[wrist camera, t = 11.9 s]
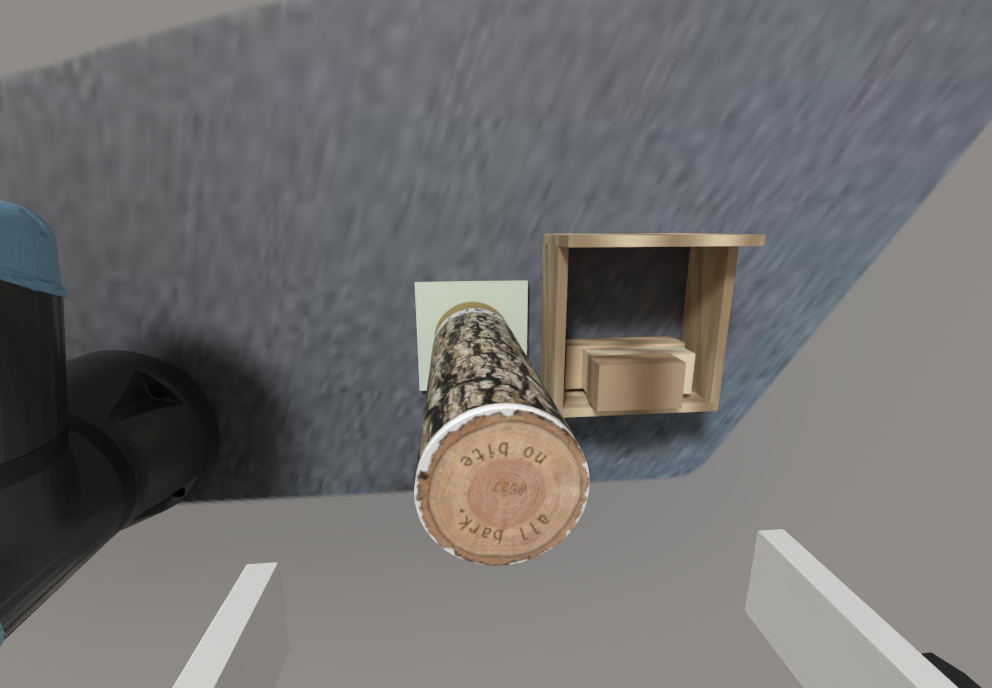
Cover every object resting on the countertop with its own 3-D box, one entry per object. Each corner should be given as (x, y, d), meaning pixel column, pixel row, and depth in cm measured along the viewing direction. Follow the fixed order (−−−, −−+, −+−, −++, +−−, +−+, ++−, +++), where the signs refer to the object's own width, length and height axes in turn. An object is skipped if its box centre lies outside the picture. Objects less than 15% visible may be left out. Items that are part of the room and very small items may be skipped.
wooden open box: (539, 393, 44) (561, 433, 36) (543, 233, 40) (568, 235, 32) (683, 387, 46) (738, 425, 37) (699, 233, 42) (765, 234, 33)
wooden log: (499, 378, 43) (564, 575, 19) (427, 364, 42) (398, 554, 18) (516, 308, 41) (611, 425, 17) (442, 292, 40) (433, 392, 16)
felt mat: (420, 388, 43) (419, 390, 42) (415, 282, 40) (414, 282, 40) (525, 384, 44) (526, 386, 43) (526, 280, 41) (527, 281, 41)
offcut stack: (557, 379, 44) (582, 413, 36) (559, 339, 43) (584, 364, 35) (666, 375, 45) (714, 407, 37) (670, 336, 44) (720, 360, 36)
